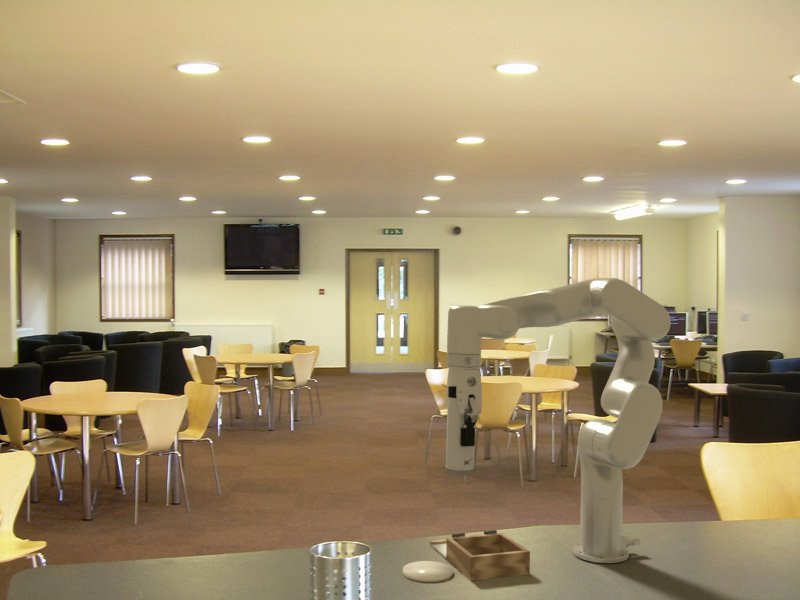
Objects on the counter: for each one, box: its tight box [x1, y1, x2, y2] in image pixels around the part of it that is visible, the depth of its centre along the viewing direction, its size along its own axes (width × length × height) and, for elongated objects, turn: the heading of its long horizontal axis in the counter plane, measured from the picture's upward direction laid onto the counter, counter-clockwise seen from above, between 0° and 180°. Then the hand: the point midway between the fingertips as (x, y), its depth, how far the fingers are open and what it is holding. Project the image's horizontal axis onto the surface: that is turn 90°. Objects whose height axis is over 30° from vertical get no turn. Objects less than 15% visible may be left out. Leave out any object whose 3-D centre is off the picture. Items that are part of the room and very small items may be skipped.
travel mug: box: [445, 386, 476, 477], centre depth 181 cm, size 6×7×20 cm
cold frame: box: [429, 529, 531, 582], centre depth 189 cm, size 14×25×6 cm, turn 18°
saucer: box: [402, 560, 454, 583], centre depth 179 cm, size 11×11×1 cm
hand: (461, 442), depth 181 cm, fingers closed on travel mug, 6 cm apart
